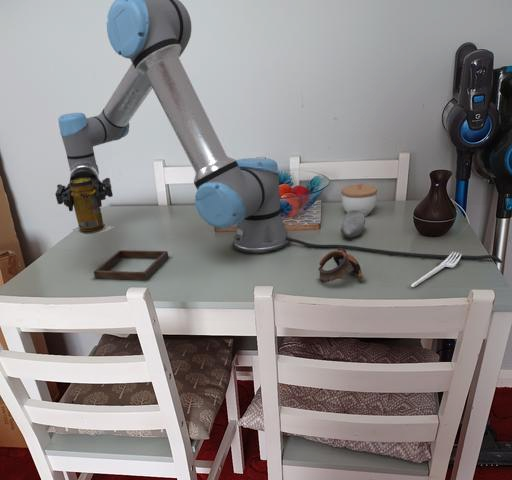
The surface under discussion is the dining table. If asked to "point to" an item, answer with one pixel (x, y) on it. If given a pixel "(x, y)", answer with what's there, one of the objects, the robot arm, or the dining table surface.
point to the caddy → (124, 275)
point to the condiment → (87, 207)
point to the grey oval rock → (353, 223)
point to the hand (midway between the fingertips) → (84, 203)
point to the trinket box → (359, 198)
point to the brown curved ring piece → (339, 265)
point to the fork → (439, 268)
